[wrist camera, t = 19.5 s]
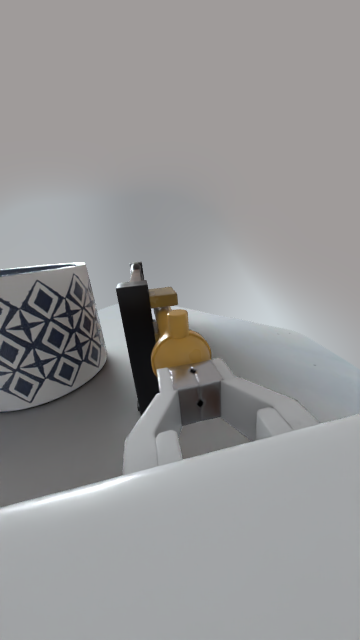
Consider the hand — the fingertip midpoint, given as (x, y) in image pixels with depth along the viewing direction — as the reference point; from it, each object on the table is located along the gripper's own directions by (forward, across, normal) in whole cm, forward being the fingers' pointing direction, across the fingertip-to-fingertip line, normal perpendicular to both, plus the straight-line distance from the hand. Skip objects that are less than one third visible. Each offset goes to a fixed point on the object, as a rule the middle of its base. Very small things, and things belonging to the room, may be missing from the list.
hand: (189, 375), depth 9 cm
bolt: (+5, 0, +2) cm, 6 cm away
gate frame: (+22, +1, +10) cm, 24 cm away
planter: (+20, +16, +10) cm, 28 cm away
